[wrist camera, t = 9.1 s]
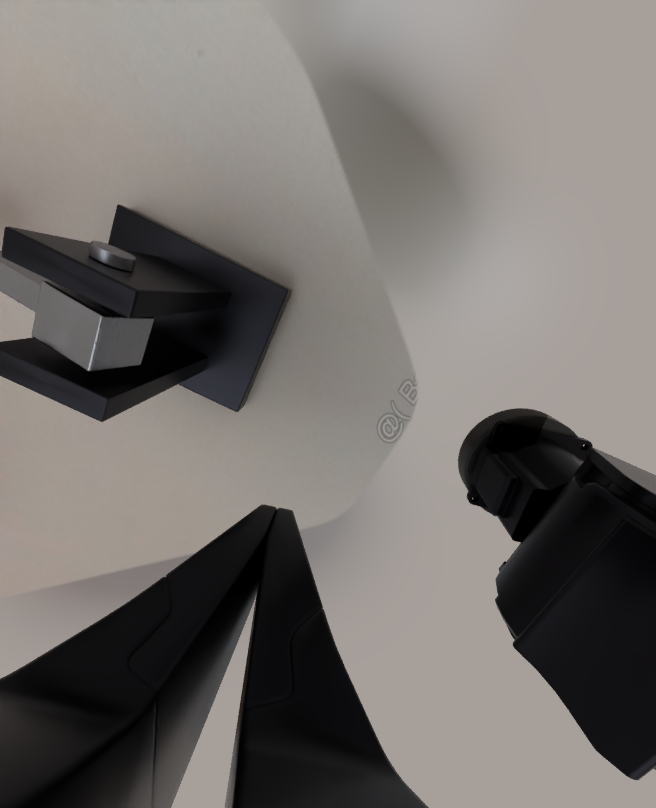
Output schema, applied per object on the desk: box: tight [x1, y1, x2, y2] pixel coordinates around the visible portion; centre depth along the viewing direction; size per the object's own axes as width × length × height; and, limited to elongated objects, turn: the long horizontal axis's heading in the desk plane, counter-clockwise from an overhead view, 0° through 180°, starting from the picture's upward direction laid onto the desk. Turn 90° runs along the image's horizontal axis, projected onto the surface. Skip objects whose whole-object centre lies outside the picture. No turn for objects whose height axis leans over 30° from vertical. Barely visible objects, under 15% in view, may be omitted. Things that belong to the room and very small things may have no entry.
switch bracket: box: [0, 205, 292, 422], centre depth 16 cm, size 10×8×10 cm
